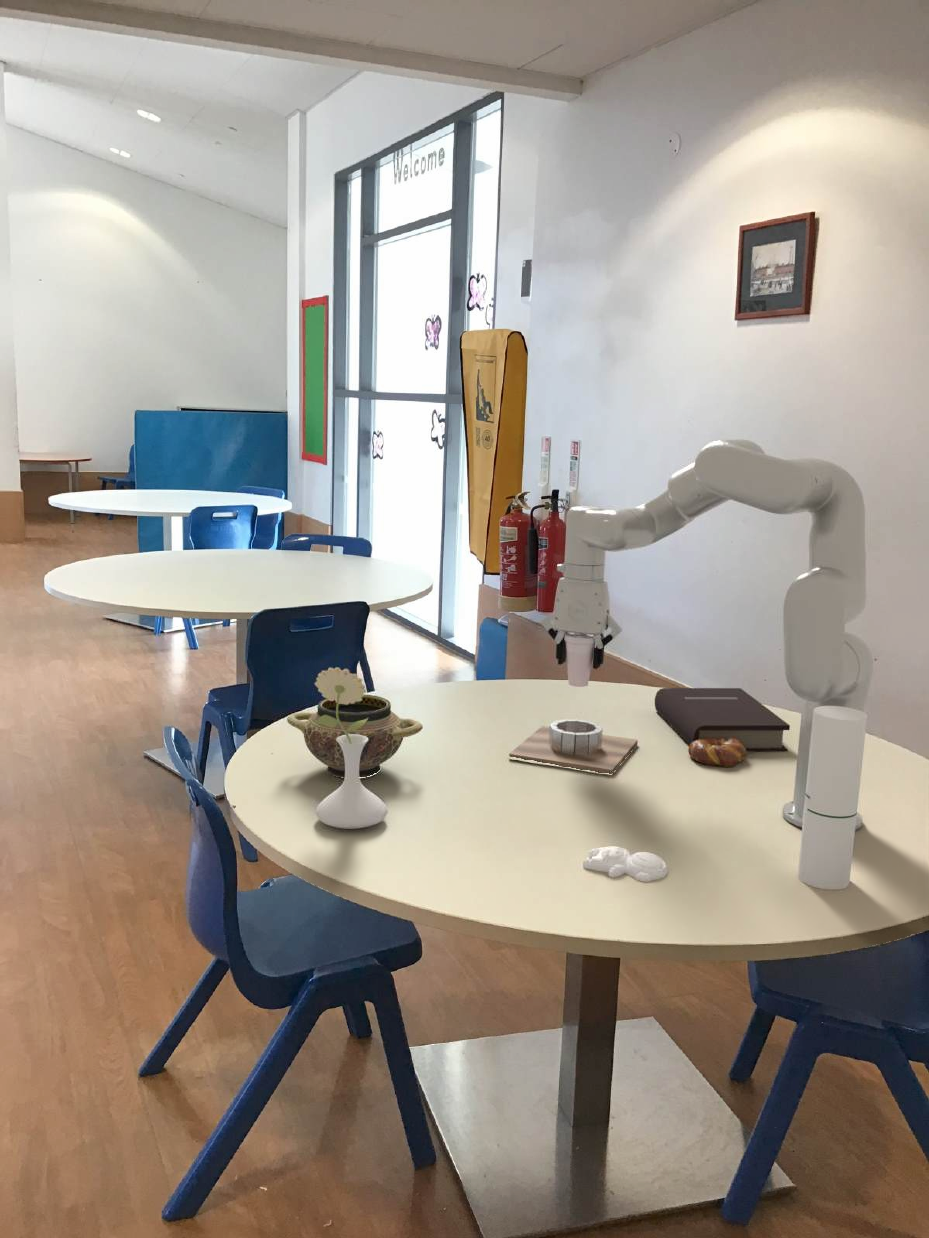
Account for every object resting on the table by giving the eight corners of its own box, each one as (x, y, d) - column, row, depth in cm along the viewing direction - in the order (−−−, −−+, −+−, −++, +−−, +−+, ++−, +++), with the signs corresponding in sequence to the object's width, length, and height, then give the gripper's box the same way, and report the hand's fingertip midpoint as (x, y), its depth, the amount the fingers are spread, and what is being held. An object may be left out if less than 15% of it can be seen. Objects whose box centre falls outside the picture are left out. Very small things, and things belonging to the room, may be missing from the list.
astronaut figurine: (594, 851, 164) (595, 832, 164) (672, 866, 160) (673, 847, 159) (577, 872, 156) (578, 853, 156) (658, 889, 152) (660, 869, 151)
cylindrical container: (838, 868, 159) (855, 706, 155) (857, 889, 152) (875, 720, 148) (790, 867, 159) (806, 705, 154) (807, 889, 152) (824, 719, 147)
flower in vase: (401, 818, 174) (403, 668, 169) (359, 841, 164) (361, 683, 159) (336, 801, 180) (337, 656, 175) (292, 822, 171) (292, 670, 166)
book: (653, 713, 239) (655, 687, 238) (738, 713, 241) (740, 688, 240) (692, 754, 212) (694, 725, 211) (787, 753, 214) (789, 725, 213)
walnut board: (611, 776, 196) (612, 769, 196) (508, 759, 204) (509, 753, 204) (637, 745, 215) (637, 739, 214) (542, 731, 222) (542, 725, 222)
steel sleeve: (592, 757, 203) (594, 737, 202) (542, 750, 206) (543, 730, 206) (606, 743, 212) (607, 723, 211) (558, 736, 215) (559, 716, 215)
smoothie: (558, 686, 204) (562, 614, 202) (565, 678, 210) (569, 608, 208) (591, 690, 203) (596, 617, 200) (597, 682, 209) (602, 611, 206)
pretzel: (717, 746, 216) (718, 728, 215) (760, 762, 207) (761, 743, 207) (674, 755, 209) (676, 737, 208) (717, 771, 200) (719, 752, 200)
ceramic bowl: (427, 779, 200) (433, 699, 201) (407, 788, 182) (413, 700, 183) (300, 768, 204) (306, 689, 205) (269, 776, 186) (275, 690, 187)
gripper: (534, 571, 202) (530, 664, 206) (624, 579, 196) (618, 675, 199) (546, 566, 209) (542, 656, 212) (633, 573, 202) (628, 666, 206)
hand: (579, 664), depth 206 cm, fingers closed on smoothie, 6 cm apart
